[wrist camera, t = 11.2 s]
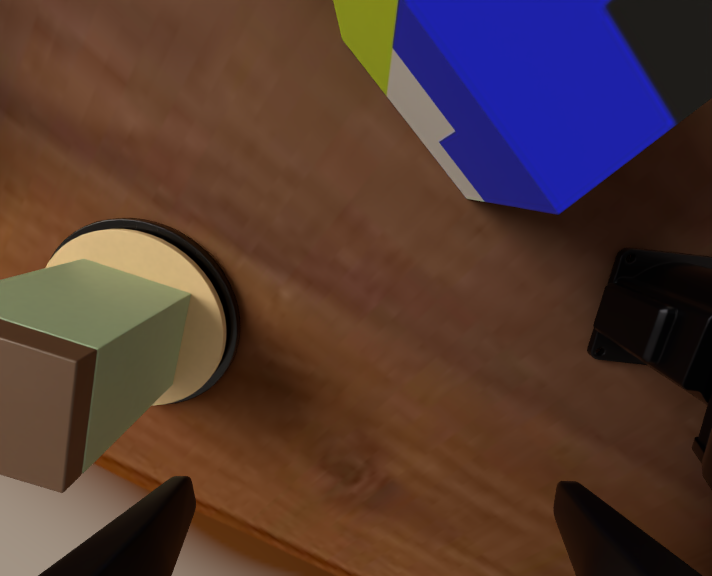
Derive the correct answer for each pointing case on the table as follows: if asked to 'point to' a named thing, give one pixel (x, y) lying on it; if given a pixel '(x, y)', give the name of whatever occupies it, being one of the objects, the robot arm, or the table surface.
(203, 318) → the box
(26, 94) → the table surface
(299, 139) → the table surface
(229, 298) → the turntable
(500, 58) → the puzzle toy
